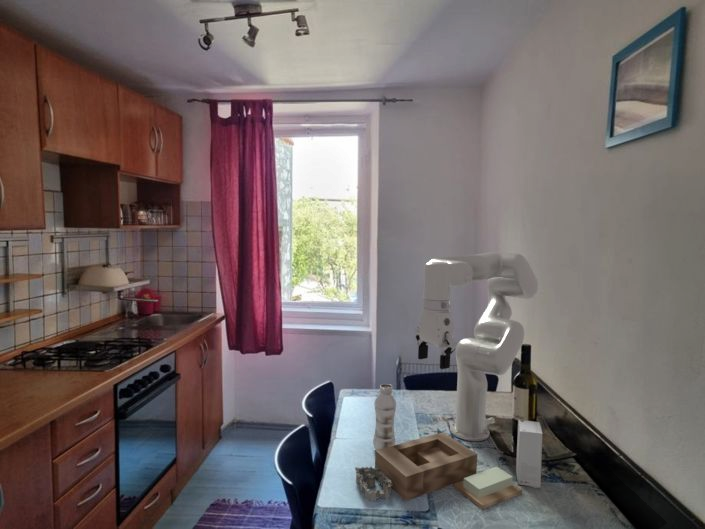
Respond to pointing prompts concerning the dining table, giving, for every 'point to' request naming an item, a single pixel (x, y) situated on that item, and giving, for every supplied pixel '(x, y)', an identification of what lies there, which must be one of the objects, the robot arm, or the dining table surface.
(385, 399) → the plastic bottle
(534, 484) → the skincare box
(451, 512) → the dining table surface
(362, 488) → the egg carton
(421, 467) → the pocket board
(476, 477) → the slab
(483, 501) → the plate
